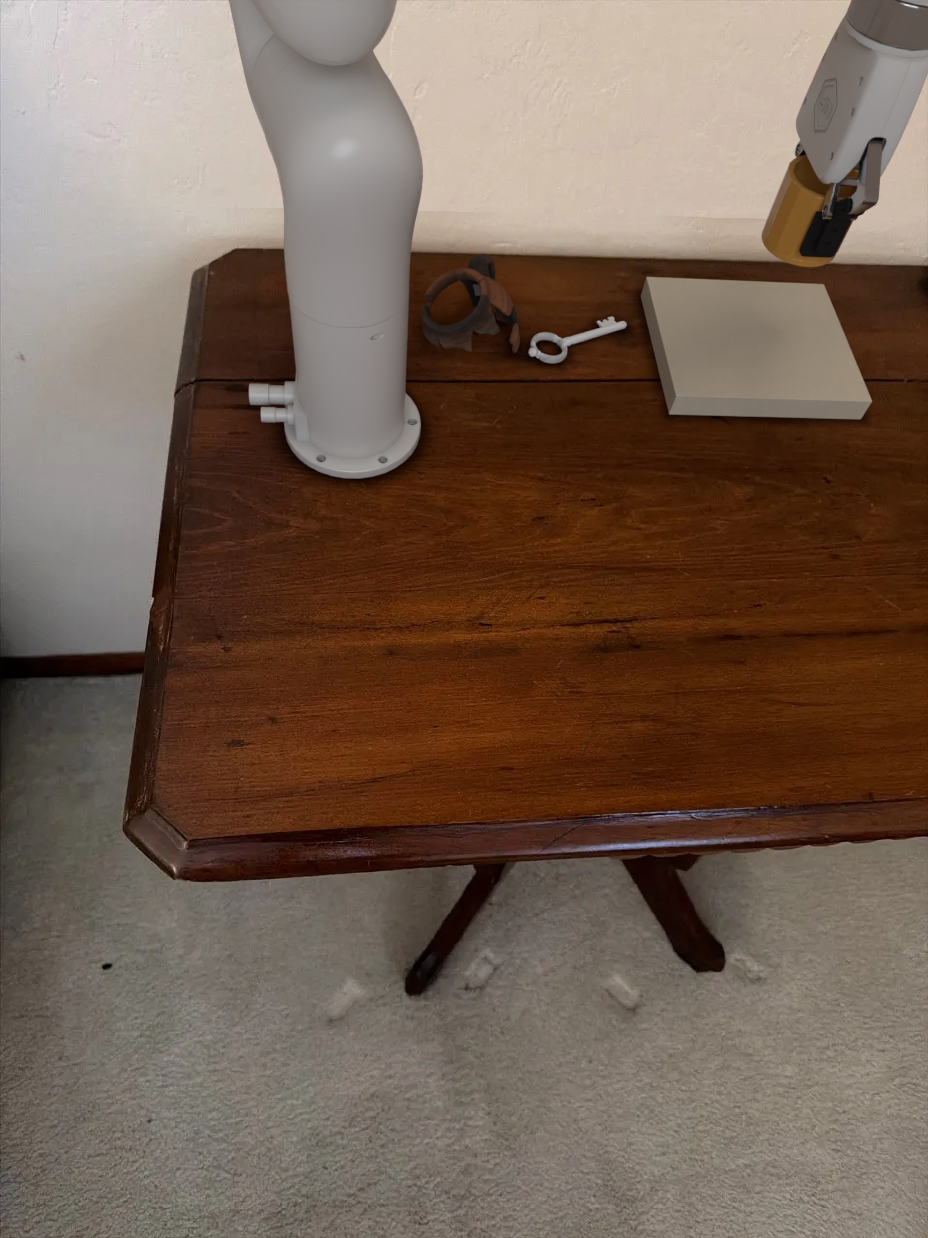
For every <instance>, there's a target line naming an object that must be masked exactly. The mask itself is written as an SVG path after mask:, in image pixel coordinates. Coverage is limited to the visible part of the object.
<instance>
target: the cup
mask: <svg viewBox="0 0 928 1238" xmlns="http://www.w3.org/2000/svg"><path fill="white" fill-rule="evenodd" d="M793 159H794V160H793ZM793 159H792V160H791V161H790V162H789V164H788V166H787V169H786V170H785V173H784V175H783V177H782V180H781V184H780V186H779V188H778V191H777V192H776V195H775V198H774V201H773V203H772V206H771V207H770V210H769V213H768V215H767V218H766V219H765V223H764V226H763V229H762V231H761V242H762V244H763V246H764V247H765V249H766V250H767V252H769V253H770V254H771V255H773V256H774V257H775V258H776V259H779V260H780V261H783V262H785V263H787V264H790V265H793V266H797V267H803V268H818V267H822V266H824V265H827V264H829V263H830V262H832V261H833V260H834V258H835V257H836V255H837V253H838V252H839V250H840V248H841V247H842V244H843V243H844V240H845V238H846V237H847V234H848V233H849V231H850V229H851V226H852V224H853V222H854V221H852V222H851V224H850V226H849V228H848V230H847V232H846V234H845V236H844V238H843V240H842V242H841V244H840V246H839V248H838V250H837V252H836V254H835V255H834V256H833V257H831V258H826V257H803V256H801V254H800V251H799V250H800V247H801V245H802V243H803V240H804V238H805V236H806V234H807V232H808V229H809V227H810V225H811V223H812V221H813V218H814V216H815V214H816V212H822V209H823V205H824V200H825V196H826V192H827V187H828V184H823V183H822V182H821V181H820V180H819V179H818V177H817V175H816V173H815V171H814V169H813V167H812V165H811V163H810V161H809V159H808V157H807V154H806V155H802V156H798V157H795V158H793ZM857 175H858V170H851V171H850V172H849V173H848V174H847V175H846V176H845V177H850V178H857ZM852 189H853V186H840V189H839V194H838V198H837V202H838V201H840V200H842V199H844V198H850V197H851V193H852Z"/></svg>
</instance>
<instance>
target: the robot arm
mask: <svg viewBox="0 0 928 1238" xmlns="http://www.w3.org/2000/svg"><path fill="white" fill-rule="evenodd" d="M228 2H229V8H230V12H231V18H232V24H233V28H234V33H235V37H236V43H237V47H238V52H239V56H240V61H241V65H242V70H243V74H244V78H245V83H246V87H247V91H248V95H249V98H250V101H251V103H252V106H253V109H254V111H255V114H256V116H257V119H258V122H259V125H260V127H261V129H262V131H263V134H264V138H265V141H266V145H267V147H268V149H269V152H270V154H271V155H270V156H271V157H272V160H273V163H274V165H275V168H276V172H277V177H278V180H279V186H280V191H281V197H282V205H283V256H284V271H285V279H286V290H287V296H288V302H289V303H288V304H289V312H290V314H289V315H290V323H291V332H292V333H291V334H292V343H293V344H292V345H293V353H294V354H293V355H294V363H295V379H294V380H293V381H291V380H290V381H289V380H286V381H284V385H280V384H279V385H277V384H270V383H255V382H253V383H252V382H249V384H248V401H249V402H248V403H249V405H250V406H261V407H260V421H261V423H283V426H284V427H283V428H284V435H285V438H286V439H285V440H286V443H287V444H288V446H289V448H290V450H291V452H292V453H293V454H294V455H295V456H296V457H297V458H298V460H300V461H301V462H302V463H303V464H304V465H306V466H307V467H309V468H311V469H313V470H315V471H316V472H319V473H321V474H325V475H327V476H330V477H333V478H334V477H336V478H341V479H365V478H374V477H377V476H381V475H383V474H384V475H385V474H387V473H388V472H390V471H392V470H395V469H397V468H398V467H400V466H401V465H402V464H403V463H405V462H406V461H407V460H408V459H409V458H410V457H411V456H412V455H413V453H414V452H415V450H416V448H417V447H418V444H419V440H420V437H421V430H422V429H421V428H422V425H421V423H422V422H421V416H420V412H419V409H418V407H417V405H416V403H415V402H414V400H413V398H412V397H411V396H409V394H407V392H406V390H407V389H406V388H407V387H406V386H407V362H408V361H407V360H408V359H407V358H408V336H409V335H408V333H409V309H410V308H409V307H410V306H409V305H410V274H411V273H410V272H411V257H412V256H411V254H412V245H413V236H414V230H415V226H416V220H417V217H418V213H419V207H420V202H421V198H422V191H423V182H424V165H423V156H422V151H421V146H420V142H419V139H418V136H417V133H416V130H415V127H414V125H413V122H412V120H411V117H410V115H409V113H408V110H407V109H406V107H405V104H404V102H403V101H402V99H401V98H400V96H399V94H398V92H397V90H396V88H395V87H394V84H393V82H392V81H391V79H390V77H388V75H387V73H386V72H385V70H384V69H383V67H382V65H381V63H380V61H379V59H378V58H377V56H376V54H375V52H374V50H375V49H376V48H377V47H378V45H379V44H380V43H381V41H382V40H383V39H384V37H385V35H386V33H387V32H388V30H389V27H390V26H391V23H392V21H393V18H394V15H395V12H396V8H397V3H398V0H228ZM837 26H838V27H837V28H836V30H835V32H834V33H833V36H832V37H831V40H830V41H829V43H828V46H827V47H826V50H825V52H824V53H823V55H822V58H821V60H820V61H819V64H818V66H817V69H816V71H815V72H814V75H813V77H812V80H811V81H810V84H809V87H808V89H807V91H806V93H805V96H804V99H803V100H802V103H801V106H800V108H799V111H798V113H797V115H796V119H795V130H796V133H797V135H798V138H799V141H798V143H797V144H796V146H795V149H794V156H795V158H796V157H798V156H802V155H806V154H807V157H808V159H809V161H810V163H811V165H812V167H813V169H814V171H815V173H816V175H817V177H818V179H819V180H820V181H821V182H822V183H823V184H828V187H827V192H826V196H825V200H824V205H823V209H822V212H816V214H815V216H814V218H813V221H812V223H811V225H810V227H809V229H808V232H807V234H806V236H805V238H804V240H803V243H802V245H801V247H800V250H799V251H800V254H801V256H803V257H826V258H831V257H833V256H834V255H835V254H836V255H837V253H838V252H837V250H838V248H839V246H840V244H841V242H842V240H843V238H844V236H845V234H846V232H847V230H848V228H849V226H850V224H851V222H852V221H853V222H855V221H856V220H857V219H858V218H859V217H860V216H862V215H864V214H865V212H867V211H869V210H870V209H871V208H873V207H875V206H876V205H877V204H878V203H879V200H880V199H879V198H880V189H881V188H880V186H881V177H882V176H883V174H884V173H885V171H886V169H887V167H888V166H889V164H890V162H891V160H892V158H893V156H894V154H895V152H896V150H897V148H898V145H899V143H900V142H901V139H902V137H903V135H904V133H905V130H906V128H907V126H908V124H909V121H910V120H911V118H912V117H911V116H912V114H913V112H914V110H915V107H916V106H917V103H918V101H919V98H920V95H921V92H922V90H923V88H924V85H925V82H926V79H927V77H928V0H850V3H849V5H848V8H847V10H846V12H845V14H844V16H843V17H842V19H841V21H840V23H839V24H838V25H837ZM795 158H793V159H792V160H794V159H795ZM851 170H858V175H857V178H850V177H845V176H846V175H847V174H848V173H849V172H850V171H851ZM840 186H853V189H852V193H851V197H850V198H844V199H842V200H840V201H838V202H837V198H838V194H839V189H840ZM853 222H852V223H853ZM851 225H852V224H851ZM850 227H851V226H850ZM849 229H850V228H849ZM848 231H849V230H848ZM847 233H848V232H847ZM846 235H847V234H846ZM845 237H846V236H845ZM844 239H845V238H844ZM843 241H844V240H843ZM842 243H843V242H842ZM841 245H842V244H841ZM840 247H841V246H840ZM836 252H837V253H836ZM836 255H835V256H836ZM271 405H283V406H284V407H275V406H271Z"/></svg>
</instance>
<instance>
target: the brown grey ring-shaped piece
mask: <svg viewBox="0 0 928 1238" xmlns="http://www.w3.org/2000/svg"><path fill="white" fill-rule="evenodd" d="M459 281H460V282H461V283H462V285H463V287H464V288H465V290H466V291H467V293H468V297H469V299H470V302H471V306H472V307H474V309H473V310H472V311H471V313H470V314H468V316H466V317H465V318H463V319H462V320H460V321H458V322H454V323H452V324H440V323H437V322H436V321H434V320H433V318H432V316H431V310H432V309H431V308H432V306H433V304H434V302H435V301H436V299H437V298H438V296H440V294H441V293H442V292H443V291H444V290H446V289H447V288H448V287H450V286H451V285H453V284H455V283H457V282H459ZM424 297H425V299H426V300H427V303H425V304H424V305H423V306H422V307H421V309H420V310H419V313H420V317H421V320H422V334H423V336H424V338H425V339H426V340H427V341H428V342H429V343H430V344H431V345H433V346H434V347H436V348H439V349H440V348H443V349H445V350H446V349H447V350H450V349H462V350H465V351H466V352H470V353H473V351H474V350H473V348H472V347H473V333H474V332H475V333H476V334H479V335H490V336H494V335H496V334H498V333H499V332H500V330H501V328H500V325H498V323H497V321H500V322H503V323H505V324H507V325H509V326H510V327H511V328H512V329H511V333H510V337H509V344H510V345H511V351H512V353H513V354H516V353H517V352H518V350H519V347H520V343H521V335H520V322H519V318H518V315H517V311H516V308H515V305H514V303H513V300H512V297H510V295H509V294H508V292H507V291H506V290H505V288H504V287H503V286H502V285H501V284H500V283H499V282H498V281H496V264H495V260H494V259H493V258H492V256H490V255H488V254H487V253H480V254H476V255H474V256H473V257H472V258H471V259H470V260H469V262H468V264H467V267H459V268H455V269H452V270H449V271H447V272H445V273H442V274H441V275H440V276H438V277H437V278H436V280H434V281H433V282H432V283H431V284H430V285H429V287H428V288H427V289H426V291H425V293H424ZM492 307H494V311H495V313H496V316H495V314H494V311H493V308H492ZM496 320H497V321H496Z"/></svg>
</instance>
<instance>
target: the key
mask: <svg viewBox="0 0 928 1238" xmlns="http://www.w3.org/2000/svg"><path fill="white" fill-rule="evenodd" d="M596 324H597V325H598V328H595V329H590V330H587V331H584V332H581V333H577V334H573V335H571V336H566V337H563V338H562V337H561V336H558V335H557V334H555V333H553V332H548V331H543V332H542V331H541V332H538V333H536V334H535V335H533V337H531V340H530V342H529V343H530V345H529V349H528V352H527V353H528V355H529V357H530V358H534V357H535V358H537V359H539V360H540V361H541V362H543V363H546V364H552V365H553V364H559V363H562V362H563V361H564V360H565V359H566V358H567V356H568V347H570V346H571V345H576V344H578V343H582V342H585V341H588V340H592V339H595V338H598V337H601V336H605V335H608V334H611V333H614V332H617V331H621V330H624V329H626V327H627V326H628V325H627V324H628V323H627V322H626V321H625V320H621V321H615V317H614V316H608V317H607V318H606V319H602V321H601V320H597V321H596ZM541 341H549V342H551V343H555V344H556V345H557V346H558V347H560V350H561V353H559V354H555V355H552V354H551V355H550V354H547V353H544V352H542V351H541V350H539V348H538V347H537V343H538V342H541Z"/></svg>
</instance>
